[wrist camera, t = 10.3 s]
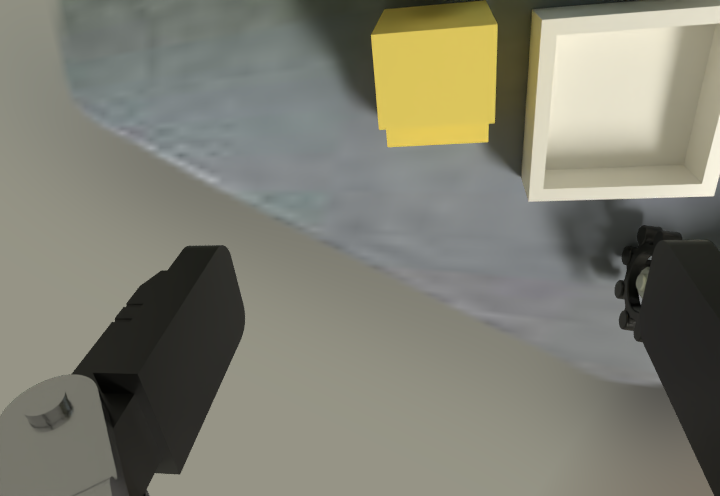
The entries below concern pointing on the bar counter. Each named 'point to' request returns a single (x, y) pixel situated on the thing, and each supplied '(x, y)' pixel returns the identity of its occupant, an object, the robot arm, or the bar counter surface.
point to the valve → (638, 274)
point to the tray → (623, 101)
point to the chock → (435, 73)
